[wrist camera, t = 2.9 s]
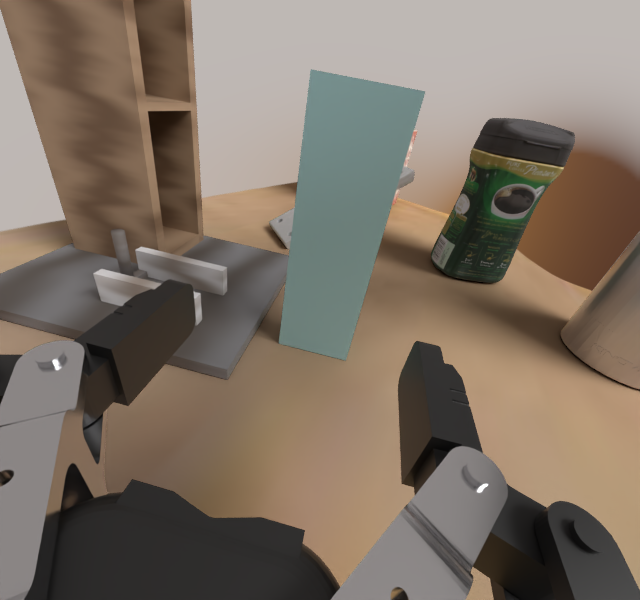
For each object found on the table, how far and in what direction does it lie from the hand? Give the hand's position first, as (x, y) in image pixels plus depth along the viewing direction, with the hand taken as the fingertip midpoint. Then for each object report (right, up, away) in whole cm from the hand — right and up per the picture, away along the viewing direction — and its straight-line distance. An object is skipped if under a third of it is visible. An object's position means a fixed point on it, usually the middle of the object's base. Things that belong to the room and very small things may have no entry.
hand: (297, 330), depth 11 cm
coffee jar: (+21, +5, +33) cm, 39 cm away
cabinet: (-14, +3, +18) cm, 23 cm away
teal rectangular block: (0, -2, +15) cm, 15 cm away
